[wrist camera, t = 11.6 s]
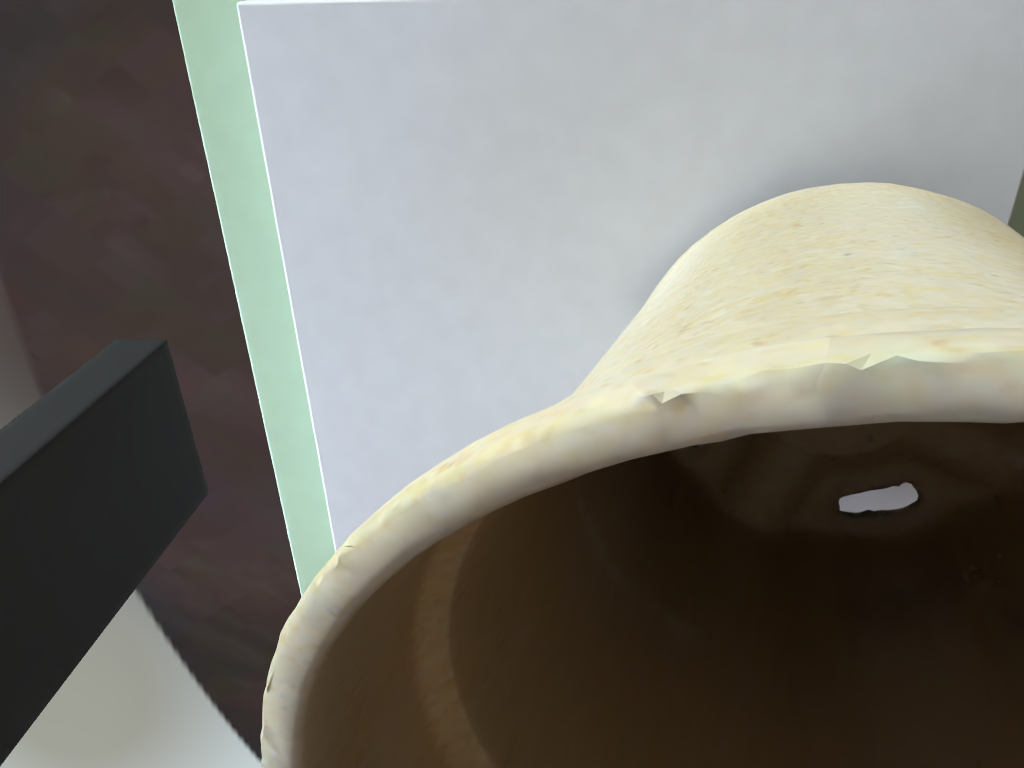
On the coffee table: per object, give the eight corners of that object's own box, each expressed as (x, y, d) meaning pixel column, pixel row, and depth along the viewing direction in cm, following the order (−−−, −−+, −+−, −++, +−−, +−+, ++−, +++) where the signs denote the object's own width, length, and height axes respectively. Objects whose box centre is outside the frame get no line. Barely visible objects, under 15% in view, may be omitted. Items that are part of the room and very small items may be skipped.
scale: (243, -127, 14) (138, -149, 11) (1078, -165, 12) (1227, -203, 9) (349, 520, 21) (304, 614, 18) (883, 552, 20) (931, 662, 17)
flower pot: (798, 675, 15) (817, 1327, 8) (438, 361, 14) (89, 792, 7) (1373, 405, 10) (2804, 1514, 3) (881, -121, 9) (1279, -364, 2)
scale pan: (276, -5, 12) (234, 1, 11) (1027, -23, 11) (1083, -20, 10) (361, 538, 18) (340, 586, 16) (870, 570, 16) (892, 625, 15)
